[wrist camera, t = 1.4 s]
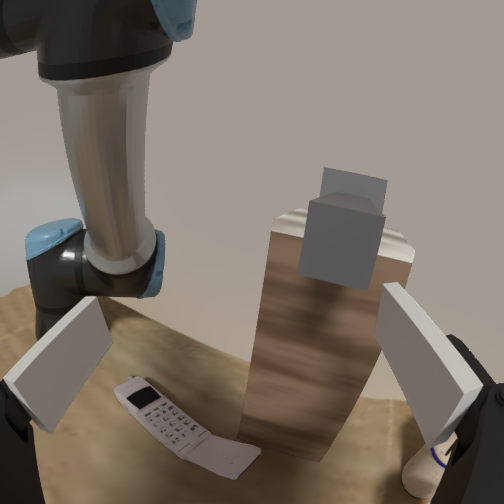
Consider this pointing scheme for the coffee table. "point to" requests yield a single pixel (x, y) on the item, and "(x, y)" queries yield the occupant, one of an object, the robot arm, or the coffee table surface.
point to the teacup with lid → (426, 469)
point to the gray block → (344, 229)
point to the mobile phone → (184, 431)
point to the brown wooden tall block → (312, 344)
